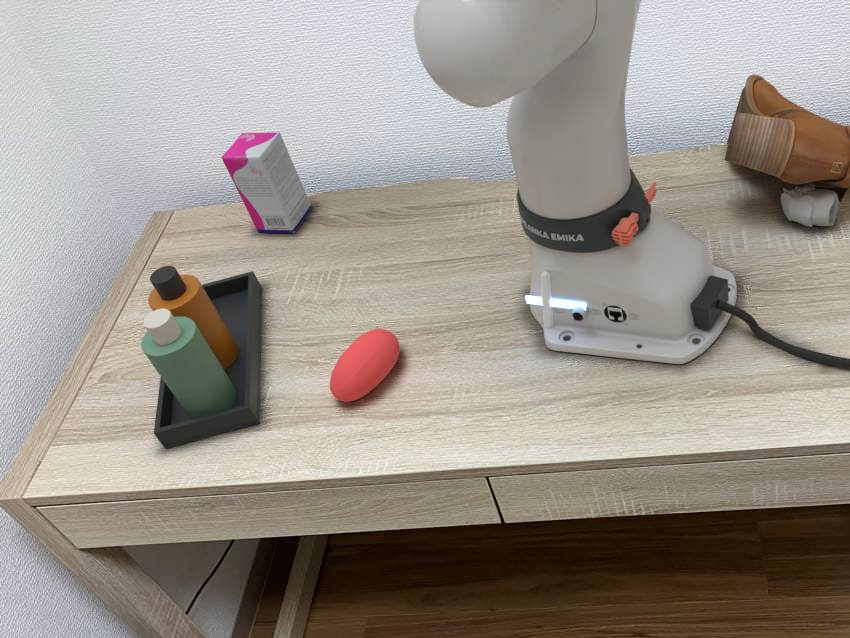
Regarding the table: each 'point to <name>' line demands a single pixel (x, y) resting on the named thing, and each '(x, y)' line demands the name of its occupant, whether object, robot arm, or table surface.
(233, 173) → the supplement box
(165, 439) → the tray
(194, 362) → the sage bottle
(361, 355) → the stress ball
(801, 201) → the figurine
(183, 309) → the amber bottle
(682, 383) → the table surface
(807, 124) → the boot
